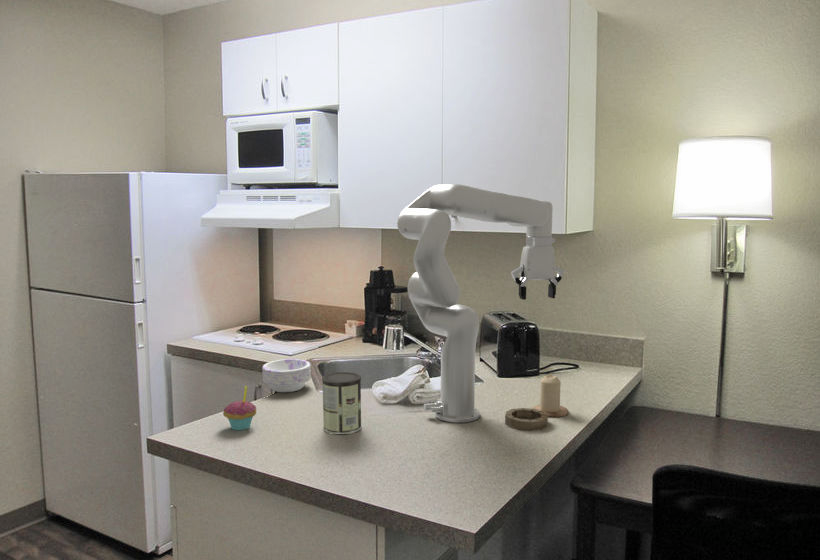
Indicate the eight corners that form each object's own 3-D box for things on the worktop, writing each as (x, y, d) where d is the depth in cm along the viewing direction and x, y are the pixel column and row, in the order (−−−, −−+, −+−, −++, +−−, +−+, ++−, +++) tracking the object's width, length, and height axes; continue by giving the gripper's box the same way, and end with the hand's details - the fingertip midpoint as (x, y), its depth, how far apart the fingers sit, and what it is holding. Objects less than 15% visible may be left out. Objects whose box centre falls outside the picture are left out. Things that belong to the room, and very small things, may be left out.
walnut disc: (542, 418, 188) (542, 416, 188) (526, 407, 197) (526, 405, 197) (574, 415, 191) (574, 413, 191) (557, 404, 200) (557, 402, 200)
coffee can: (338, 419, 187) (337, 369, 185) (369, 426, 182) (368, 375, 180) (314, 430, 178) (313, 378, 176) (346, 438, 173) (345, 384, 171)
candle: (539, 412, 192) (540, 377, 190) (540, 406, 197) (541, 372, 196) (559, 413, 191) (560, 379, 189) (559, 407, 196) (560, 373, 195)
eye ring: (516, 432, 177) (516, 423, 177) (498, 418, 188) (499, 410, 188) (554, 428, 181) (555, 419, 180) (535, 414, 191) (535, 406, 191)
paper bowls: (253, 392, 211) (252, 368, 210) (278, 380, 226) (277, 356, 224) (297, 397, 206) (296, 372, 205) (319, 384, 221) (319, 360, 220)
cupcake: (254, 420, 186) (253, 378, 184) (259, 430, 178) (257, 386, 176) (222, 424, 183) (220, 381, 181) (225, 434, 175) (224, 390, 173)
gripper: (558, 240, 210) (556, 295, 212) (507, 242, 205) (506, 297, 207) (570, 242, 203) (568, 299, 205) (517, 243, 198) (516, 301, 200)
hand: (537, 298), depth 206 cm, fingers open, 9 cm apart
